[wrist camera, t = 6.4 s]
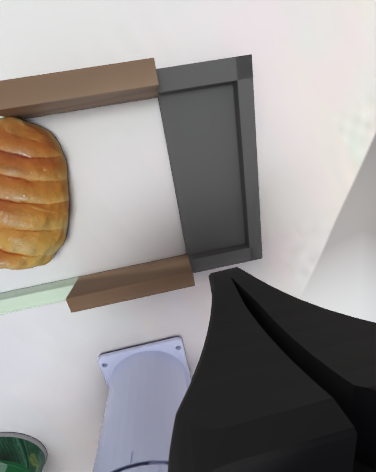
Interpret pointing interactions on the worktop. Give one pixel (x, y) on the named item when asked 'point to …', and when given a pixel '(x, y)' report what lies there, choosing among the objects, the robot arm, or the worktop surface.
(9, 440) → the canned tomato
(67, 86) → the corridor
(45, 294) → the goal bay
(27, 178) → the pastry
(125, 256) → the worktop surface
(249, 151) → the tray
